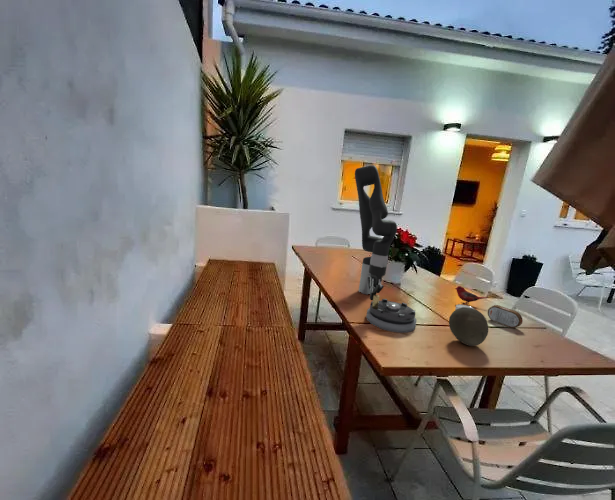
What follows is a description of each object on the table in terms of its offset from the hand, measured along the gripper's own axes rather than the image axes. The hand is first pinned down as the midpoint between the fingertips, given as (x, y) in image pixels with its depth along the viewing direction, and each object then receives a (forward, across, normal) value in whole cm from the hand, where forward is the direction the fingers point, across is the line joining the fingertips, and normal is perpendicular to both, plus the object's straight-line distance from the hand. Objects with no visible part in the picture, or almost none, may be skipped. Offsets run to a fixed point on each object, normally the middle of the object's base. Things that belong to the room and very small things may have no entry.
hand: (372, 299), depth 142 cm
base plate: (+8, +5, +8) cm, 13 cm away
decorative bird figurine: (+9, -20, +70) cm, 73 cm away
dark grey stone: (+8, +25, +32) cm, 41 cm away
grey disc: (+5, +4, +8) cm, 11 cm away
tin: (+8, +6, +68) cm, 69 cm away
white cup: (+8, +11, +41) cm, 43 cm away
